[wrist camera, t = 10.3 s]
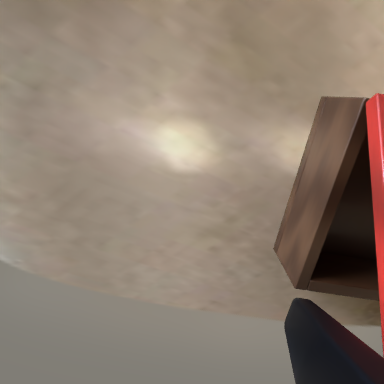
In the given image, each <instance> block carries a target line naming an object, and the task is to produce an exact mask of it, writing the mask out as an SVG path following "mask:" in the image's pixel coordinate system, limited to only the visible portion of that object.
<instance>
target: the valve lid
mask: <svg viewBox="0 0 384 384" xmlns="http://www.w3.org/2000/svg"><path fill="white" fill-rule="evenodd" d="M366 116H367V130H368V145H369V159H370V173H371V187H372V201H373V216H374V230H375V244H376V258H377V272H378V286H379V301H380V315H381V328H382V342H383V357H384V94H379V93H378V94H375V95H374V96H373V97H372V98H371V99H369V100H368V101H367V102H366Z"/></svg>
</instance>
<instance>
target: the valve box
mask: <svg viewBox="0 0 384 384" xmlns="http://www.w3.org/2000/svg"><path fill="white" fill-rule="evenodd" d="M369 99H370V98H359V97H324V96H323V97H321V100H320V103H319V106H318V110H317V113H316V116H315V119H314V122H313V125H312V128H311V132H310V135H309V138H308V141H307V144H306V147H305V151H304V154H303V157H302V160H301V163H300V166H299V169H298V173H297V176H296V179H295V182H294V185H293V188H292V191H291V195H290V198H289V201H288V204H287V207H286V210H285V213H284V217H283V220H282V223H281V226H280V229H279V232H278V236H277V239H276V242H275V245H274V248H273V249H274V251H275V253H276V254H277V256H278V258H279V260H280V262H281V264H282V265H283V267H284V269H285V271H286V273H287V275H288V277H289V278H290V280H291V282H292V284H293V286H294V288H296V289H302V290H306V289H307V290H309V291H316V292H322V293H329V294H336V295H343V296H350V297H356V298H363V299H370V300H377V301H379V286H378V272H377V258H376V244H375V230H374V216H373V201H372V187H371V173H370V159H369V145H368V130H367V116H366V102H367V101H368V100H369Z"/></svg>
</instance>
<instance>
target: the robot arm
mask: <svg viewBox="0 0 384 384" xmlns="http://www.w3.org/2000/svg"><path fill="white" fill-rule="evenodd" d="M285 333H286V338H287V343H288V348H289V353H290V358H291V363H292V368H293V373H294V378H295V382H296V384H384V358H383V357H381V356H380V355H379V354H378V353H376V352H375V351H374V350H373V349H371V348H370V347H369V346H367V345H366V344H365V343H364V342H362V341H361V340H360V339H359V338H358V337H356V336H355V335H354V334H352V333H351V332H350V331H349V330H347V329H346V328H345V327H344V326H342V325H341V324H340V323H339V322H337V321H336V320H335V319H334V318H332V317H331V316H330V315H329V314H327V313H326V312H325V311H324V310H322V309H321V308H320V307H319V306H317V305H316V304H315V303H314V302H312V301H311V300H309V299H302V298H295V299H294V300H293V301H292V304H291V306H290V309H289V311H288V314H287V317H286V319H285Z"/></svg>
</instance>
